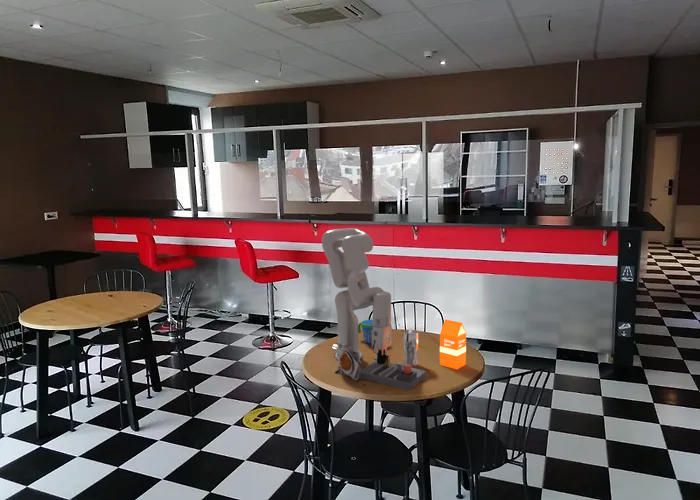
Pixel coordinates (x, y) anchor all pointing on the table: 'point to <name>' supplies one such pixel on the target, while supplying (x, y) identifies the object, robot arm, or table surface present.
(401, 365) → the steel slider
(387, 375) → the panel
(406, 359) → the beer glass
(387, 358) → the brass slider
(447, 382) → the table surface
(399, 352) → the table surface
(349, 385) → the table surface
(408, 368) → the button
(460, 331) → the orange juice
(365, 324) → the snack cup
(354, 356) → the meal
